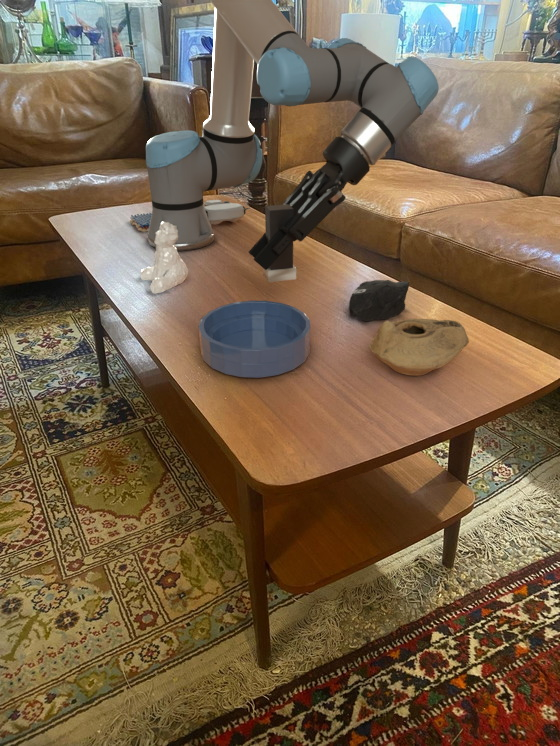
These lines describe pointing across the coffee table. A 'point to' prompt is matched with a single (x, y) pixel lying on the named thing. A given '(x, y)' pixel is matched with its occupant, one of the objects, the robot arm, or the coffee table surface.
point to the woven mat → (141, 221)
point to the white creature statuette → (165, 261)
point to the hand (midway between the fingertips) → (257, 260)
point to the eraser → (284, 263)
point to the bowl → (254, 338)
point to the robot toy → (223, 211)
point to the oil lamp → (418, 344)
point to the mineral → (378, 299)
